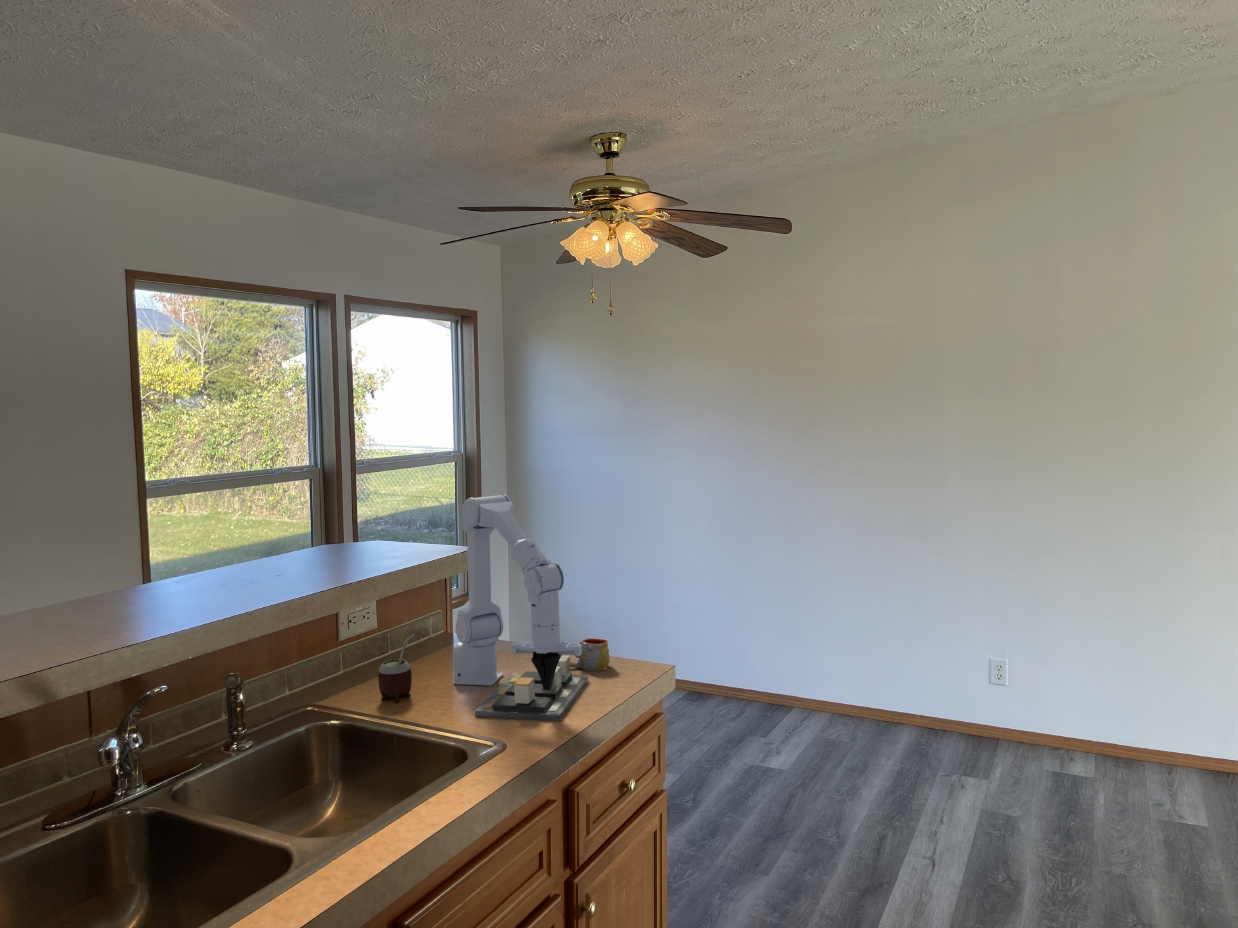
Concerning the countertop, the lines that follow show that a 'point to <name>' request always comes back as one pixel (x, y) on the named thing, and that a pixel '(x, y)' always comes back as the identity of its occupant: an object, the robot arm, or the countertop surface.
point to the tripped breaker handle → (524, 690)
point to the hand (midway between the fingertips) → (547, 688)
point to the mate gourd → (395, 678)
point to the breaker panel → (544, 702)
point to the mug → (593, 655)
